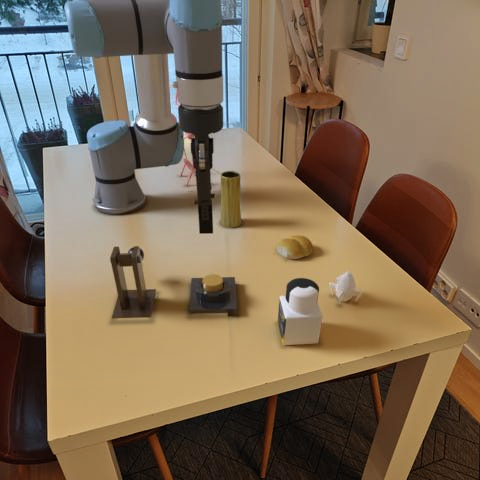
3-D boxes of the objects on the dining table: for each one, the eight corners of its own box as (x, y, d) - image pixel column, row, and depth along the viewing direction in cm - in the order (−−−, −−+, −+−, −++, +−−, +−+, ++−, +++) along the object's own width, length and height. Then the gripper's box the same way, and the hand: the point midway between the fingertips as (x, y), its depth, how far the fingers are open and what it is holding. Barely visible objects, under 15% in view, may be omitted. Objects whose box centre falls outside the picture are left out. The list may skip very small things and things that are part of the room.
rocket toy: (327, 294, 98) (331, 264, 93) (349, 290, 99) (354, 261, 94) (337, 308, 94) (342, 277, 89) (360, 304, 95) (366, 274, 90)
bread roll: (318, 253, 112) (320, 239, 109) (290, 263, 108) (292, 249, 105) (297, 240, 117) (299, 226, 115) (271, 249, 113) (272, 235, 111)
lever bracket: (120, 294, 98) (109, 239, 89) (156, 293, 98) (148, 239, 89) (112, 322, 90) (99, 265, 81) (151, 321, 90) (141, 265, 81)
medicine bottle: (277, 322, 90) (281, 274, 82) (310, 321, 90) (317, 272, 83) (282, 346, 84) (287, 296, 77) (318, 344, 85) (326, 294, 77)
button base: (192, 285, 100) (190, 270, 98) (234, 284, 101) (234, 269, 98) (189, 317, 91) (188, 302, 89) (236, 316, 92) (236, 301, 89)
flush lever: (129, 262, 98) (128, 246, 97) (145, 262, 98) (144, 246, 97) (116, 269, 85) (114, 251, 84) (134, 269, 85) (133, 251, 85)
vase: (239, 228, 122) (239, 179, 113) (218, 226, 123) (216, 177, 114) (243, 219, 127) (243, 171, 118) (223, 217, 128) (222, 169, 119)
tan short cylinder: (202, 281, 95) (202, 274, 94) (222, 280, 96) (222, 274, 94) (202, 292, 92) (202, 286, 91) (223, 292, 92) (223, 285, 91)
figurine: (189, 196, 139) (180, 72, 117) (172, 168, 158) (162, 58, 136) (234, 189, 143) (234, 69, 121) (213, 163, 162) (209, 55, 140)
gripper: (179, 94, 76) (189, 217, 92) (175, 115, 66) (186, 248, 82) (222, 94, 77) (224, 216, 92) (223, 115, 67) (225, 248, 82)
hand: (206, 231), depth 87 cm, fingers closed
